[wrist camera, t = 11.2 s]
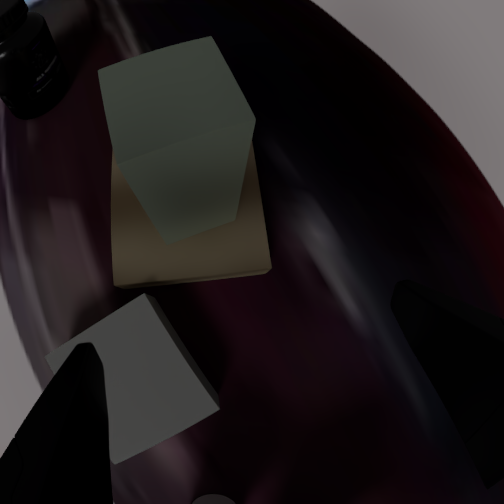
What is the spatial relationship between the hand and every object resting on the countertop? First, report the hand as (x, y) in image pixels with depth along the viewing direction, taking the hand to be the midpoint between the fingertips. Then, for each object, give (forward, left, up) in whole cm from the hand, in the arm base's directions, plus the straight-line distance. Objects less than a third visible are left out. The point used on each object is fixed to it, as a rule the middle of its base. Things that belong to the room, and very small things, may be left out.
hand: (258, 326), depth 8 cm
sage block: (+8, +2, -11) cm, 14 cm away
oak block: (+8, +2, -14) cm, 16 cm away
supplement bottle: (+23, +16, -14) cm, 31 cm away
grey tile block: (-3, +7, -14) cm, 16 cm away
